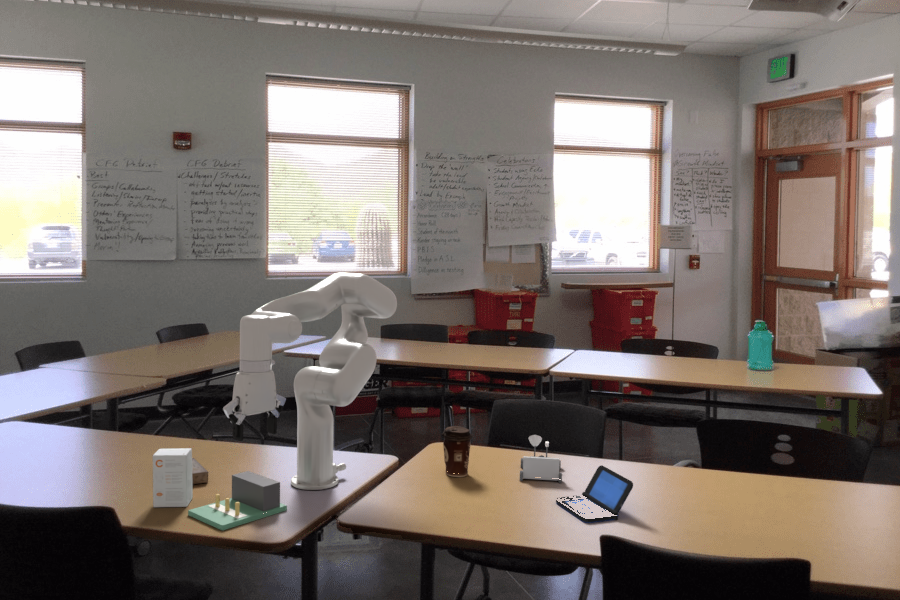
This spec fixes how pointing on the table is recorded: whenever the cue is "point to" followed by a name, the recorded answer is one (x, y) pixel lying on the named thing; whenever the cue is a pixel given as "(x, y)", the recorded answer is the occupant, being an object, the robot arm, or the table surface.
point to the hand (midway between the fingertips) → (255, 436)
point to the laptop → (604, 494)
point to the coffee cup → (456, 450)
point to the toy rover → (540, 464)
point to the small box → (172, 477)
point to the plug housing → (256, 490)
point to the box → (198, 473)
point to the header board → (230, 513)
